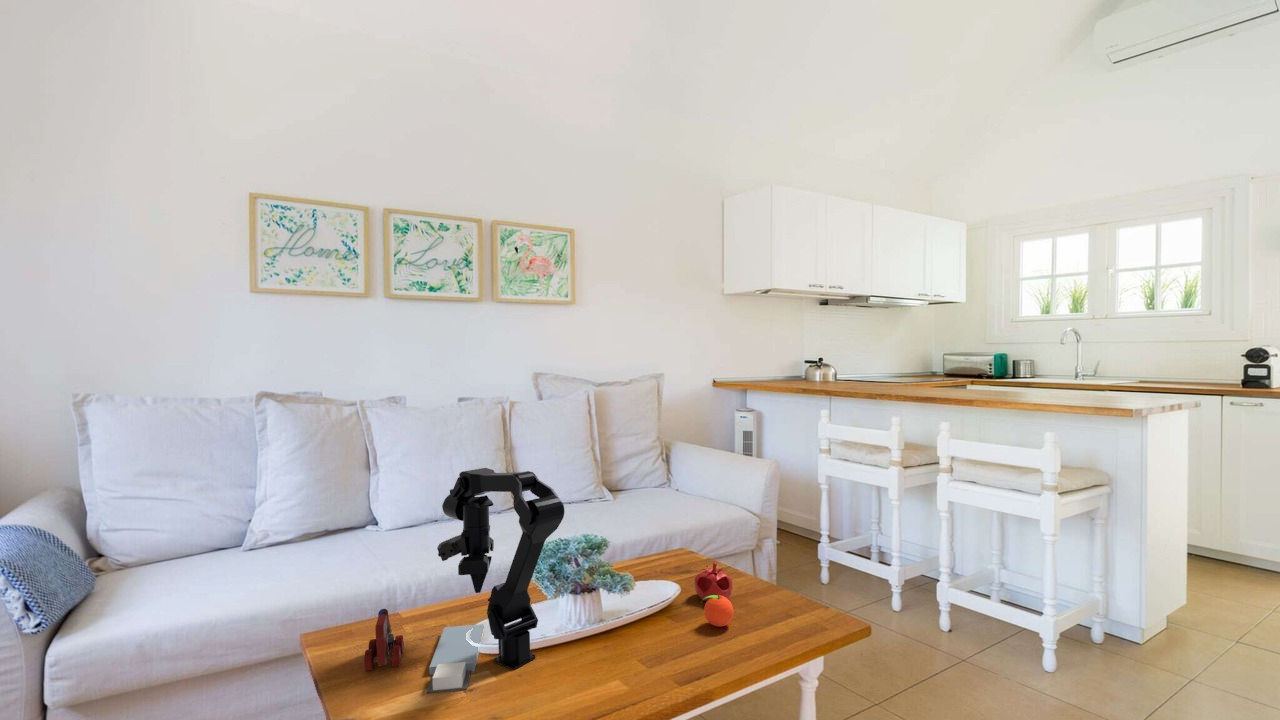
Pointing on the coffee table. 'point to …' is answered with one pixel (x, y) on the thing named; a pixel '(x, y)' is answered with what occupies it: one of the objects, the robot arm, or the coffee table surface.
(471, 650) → the grey board
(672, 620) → the coffee table surface
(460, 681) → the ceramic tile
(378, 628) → the red toy vehicle
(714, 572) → the pomegranate
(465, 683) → the rubber mat
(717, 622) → the clementine
